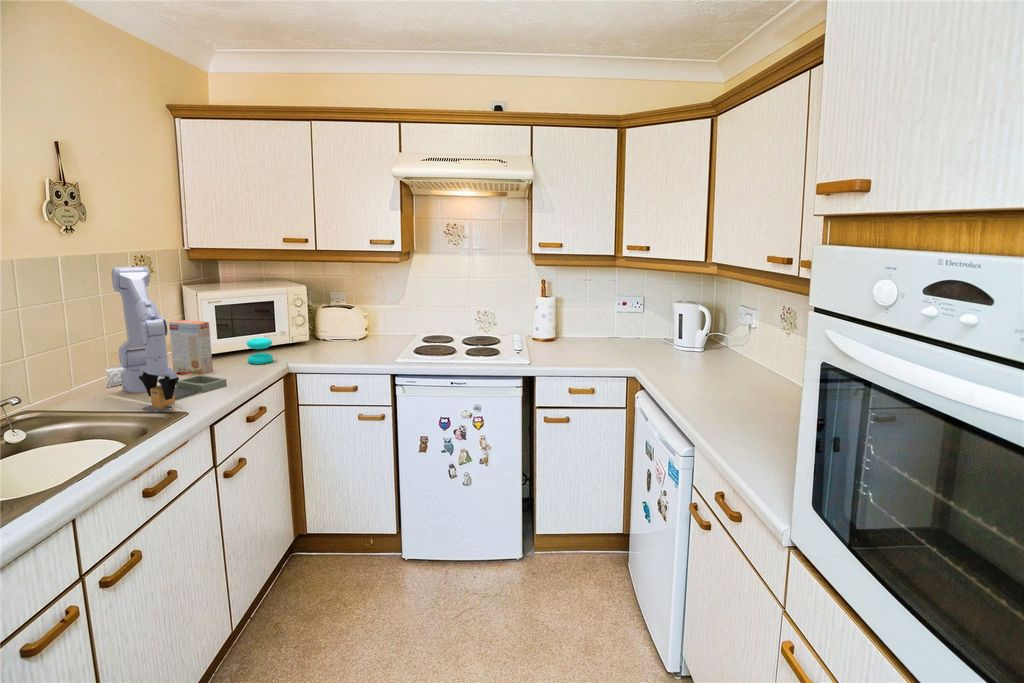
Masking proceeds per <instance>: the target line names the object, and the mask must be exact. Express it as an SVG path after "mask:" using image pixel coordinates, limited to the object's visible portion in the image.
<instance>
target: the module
mask: <svg viewBox="0 0 1024 683" xmlns="http://www.w3.org/2000/svg"><path fill="white" fill-rule="evenodd" d="M150 392H151V397H150V399H151V405H152V407H156V408H160V409H161V408H164V407H168V406H169V405H173V404H175V403H176V401H175V398H174V394H173V398H172V399H169V400H165V397H164V393H163V389H162V386H161V384H160V385H157V387H155V388H151V389H150Z"/></svg>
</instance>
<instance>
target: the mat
mask: <svg viewBox="0 0 1024 683" xmlns="http://www.w3.org/2000/svg"><path fill="white" fill-rule="evenodd" d="M167 406H168V407H164V408H161V409H160V408H156V407H152V404H151V405H148V406H145V407H142V408H141V409H142V410H143V409H144V410H143V411H147V410H149V411H148V412H152V411H156V412H155V413H157V412H158V413H160V412H159V411H162V412H164V411H163V410H165V411H167V410H166V409H168V410H170V409H169V408H172V407H173V406H169V405H167ZM172 409H173V408H172Z"/></svg>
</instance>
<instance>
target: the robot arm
mask: <svg viewBox="0 0 1024 683" xmlns="http://www.w3.org/2000/svg"><path fill="white" fill-rule="evenodd" d="M110 274H111V282H112V287H113V291H114V292H116V293H117V292H118V293H119V294H120V298H121V303H122V307H123V309H122V310H123V314H124V315H123V316H124V322H125V323H124V324H125V331H126V337H127V340H126V341H125V342H123V343H122V344H121V345H120V346H119V348H118V351H119V354H118V360H119V363H120V366H122V367H123V368H124V369H123V370H122V372H121V381H122V385H121V387H122V388H121V389H122V391H126V392H129V393H133V394H134V393H140V394H141V393H145V392H146V393H147V395H149V397H150V398H151V392H150V389H151V388H155V387H157V386H158V383H159V384H160V385H161V386H162V389H163V393H164V397H165V400H169V399H172V398H173V394H174V389H175V387H176V384H177V382H178V380H180V377H179V376H178V374H177V372H175V371H174V370H172V367H170V366H169V363H168V350H167V340H166V337H167V335H168V324H167V321H166V319H165V317H163V316H162V315H160V312H159V310H158V307H157V305H156V303H155V302H154V301H152V300H150V296H149V292H148V288H147V287H148V286H149V283H150V281H151V276H150V270H149V269H148V267H147V266H145V265H142V266H124V267H123V266H113V267H112V268H111V273H110ZM158 376H162V377H165V378H163V379H159V380H158ZM157 380H158V381H157Z"/></svg>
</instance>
